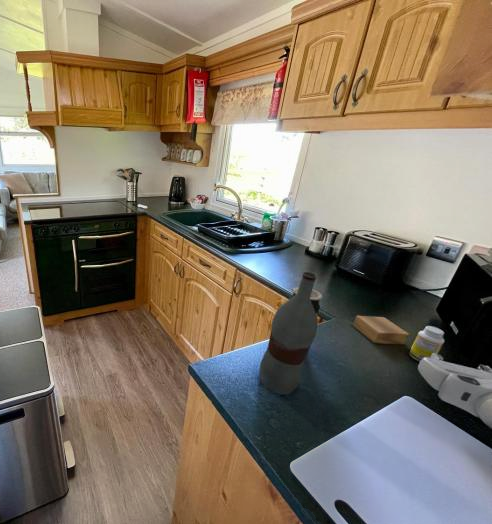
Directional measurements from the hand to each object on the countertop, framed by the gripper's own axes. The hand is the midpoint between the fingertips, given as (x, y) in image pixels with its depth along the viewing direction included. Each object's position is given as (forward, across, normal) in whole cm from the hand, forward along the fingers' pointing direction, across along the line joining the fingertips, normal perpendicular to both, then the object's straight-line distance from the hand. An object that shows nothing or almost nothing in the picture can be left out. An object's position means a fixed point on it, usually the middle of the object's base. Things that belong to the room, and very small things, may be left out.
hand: (457, 361), depth 73 cm
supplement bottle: (+12, 0, +8) cm, 15 cm away
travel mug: (+1, +37, +9) cm, 38 cm away
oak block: (+21, +8, +8) cm, 24 cm away
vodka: (-18, +42, +9) cm, 46 cm away
